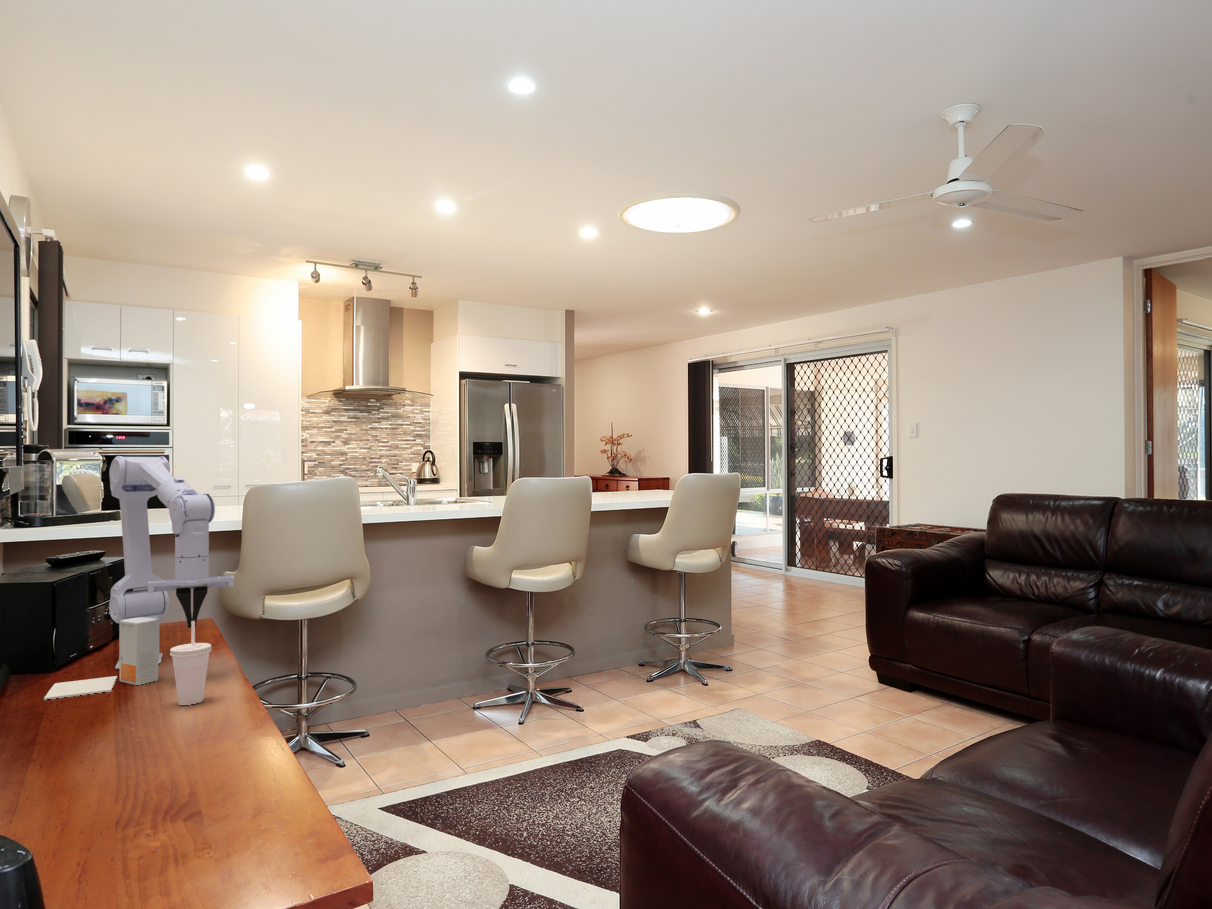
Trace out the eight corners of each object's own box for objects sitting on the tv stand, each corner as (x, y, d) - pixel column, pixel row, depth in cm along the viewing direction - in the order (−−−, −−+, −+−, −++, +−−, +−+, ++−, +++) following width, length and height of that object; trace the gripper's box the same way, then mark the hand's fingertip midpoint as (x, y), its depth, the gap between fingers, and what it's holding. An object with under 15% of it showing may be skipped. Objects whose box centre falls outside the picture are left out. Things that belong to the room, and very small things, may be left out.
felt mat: (54, 685, 141) (54, 683, 141) (117, 677, 146) (117, 675, 146) (43, 700, 131) (43, 698, 131) (111, 691, 136) (111, 689, 136)
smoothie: (219, 697, 132) (219, 618, 132) (196, 708, 125) (196, 625, 126) (185, 696, 132) (185, 618, 133) (160, 708, 126) (161, 625, 126)
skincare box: (118, 682, 142) (118, 620, 143) (141, 677, 146) (141, 616, 147) (136, 686, 140) (137, 622, 140) (159, 680, 143) (159, 618, 144)
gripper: (146, 560, 137) (146, 634, 136) (234, 555, 144) (234, 626, 143) (149, 557, 143) (149, 628, 142) (233, 552, 150) (233, 620, 149)
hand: (191, 626), depth 143 cm, fingers closed
